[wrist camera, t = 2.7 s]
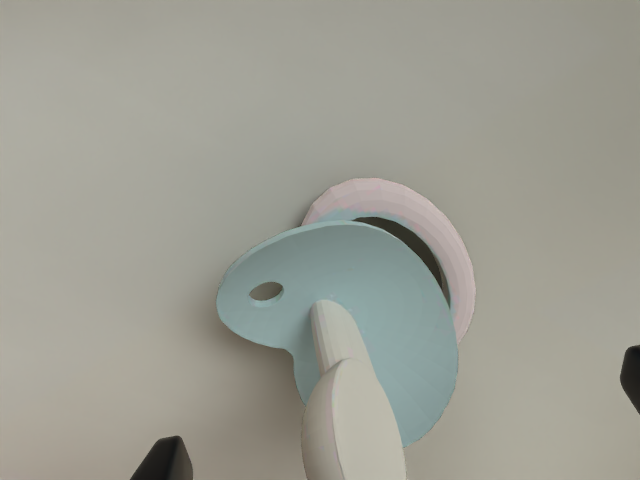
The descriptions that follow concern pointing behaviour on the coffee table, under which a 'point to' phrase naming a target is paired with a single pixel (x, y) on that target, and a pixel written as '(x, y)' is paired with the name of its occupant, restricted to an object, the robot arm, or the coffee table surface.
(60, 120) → the coffee table surface
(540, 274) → the coffee table surface
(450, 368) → the pacifier
